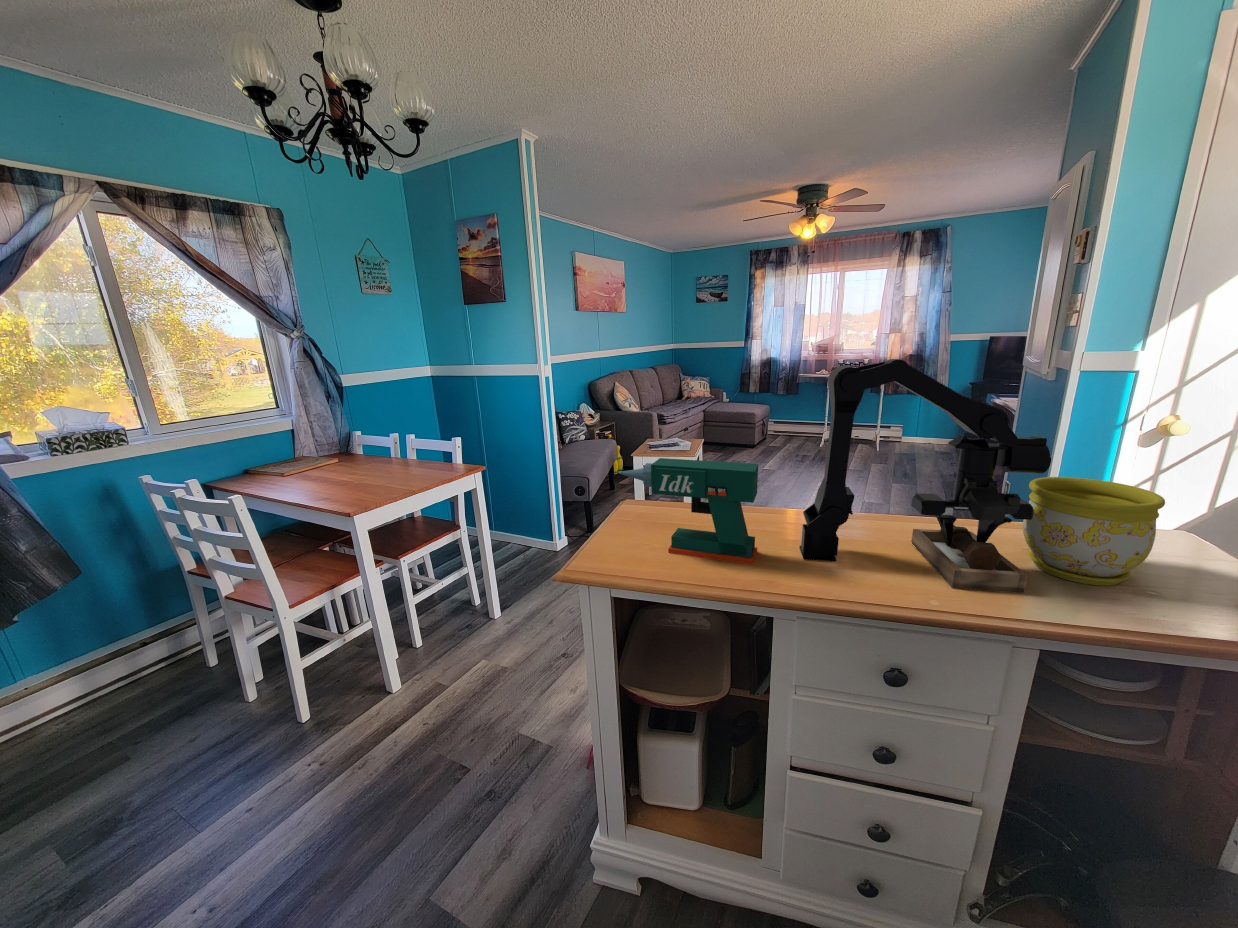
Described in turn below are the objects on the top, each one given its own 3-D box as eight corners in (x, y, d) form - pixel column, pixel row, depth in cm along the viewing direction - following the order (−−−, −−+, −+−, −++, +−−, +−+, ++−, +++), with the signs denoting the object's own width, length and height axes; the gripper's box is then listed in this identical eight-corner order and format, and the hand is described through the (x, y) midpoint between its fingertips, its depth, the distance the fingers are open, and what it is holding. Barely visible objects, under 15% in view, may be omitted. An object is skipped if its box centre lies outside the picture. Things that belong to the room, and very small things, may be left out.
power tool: (611, 546, 110) (608, 462, 106) (622, 534, 117) (620, 455, 112) (753, 565, 99) (757, 472, 94) (757, 552, 105) (760, 464, 100)
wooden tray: (952, 588, 87) (954, 570, 86) (911, 543, 107) (913, 528, 106) (1024, 593, 85) (1027, 575, 84) (968, 546, 104) (971, 531, 103)
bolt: (949, 547, 102) (985, 577, 88) (928, 534, 102) (960, 563, 88) (968, 525, 100) (1008, 553, 86) (946, 513, 101) (982, 538, 86)
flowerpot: (1122, 561, 95) (1141, 482, 91) (1162, 603, 80) (1187, 511, 76) (1008, 544, 104) (1021, 472, 100) (1024, 579, 89) (1040, 496, 85)
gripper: (938, 481, 85) (927, 561, 89) (1061, 484, 81) (1043, 568, 85) (915, 465, 96) (906, 537, 100) (1022, 468, 92) (1008, 543, 96)
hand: (963, 546), depth 95 cm, fingers closed on bolt, 5 cm apart
